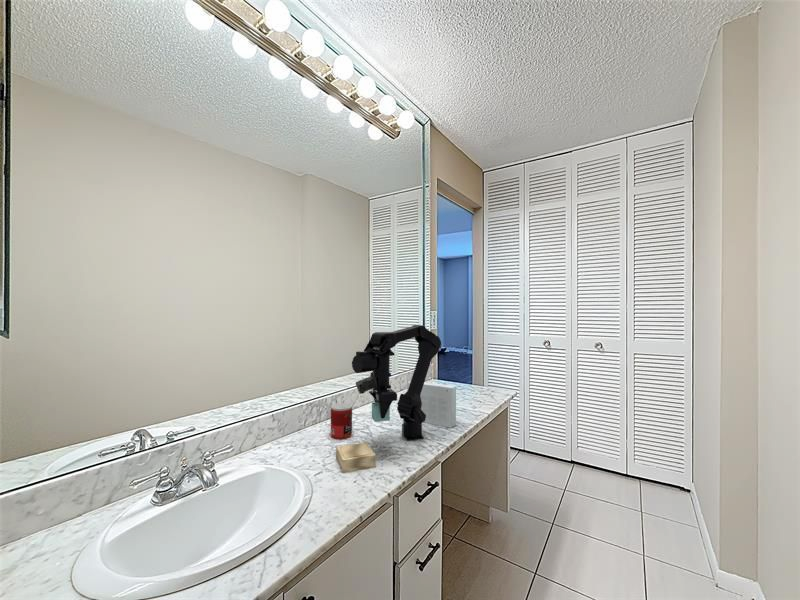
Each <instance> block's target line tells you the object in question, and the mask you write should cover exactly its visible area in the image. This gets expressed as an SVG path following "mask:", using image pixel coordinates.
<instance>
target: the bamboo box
mask: <svg viewBox="0 0 800 600" xmlns="http://www.w3.org/2000/svg"><path fill="white" fill-rule="evenodd" d="M376 456H377V455H376V453H375V451H373V449H372V447H371V446H370V445H369V444H368V442H367V441H366V442H359V443H353V444H346V445H338V446H336V447H335V459H336V461H337V464H338V465H339V468H340V470H341V472H342V474H345V473H351V472H356V471H362V470H367V469H372V468H376V466H377V465H376V464H377V457H376Z"/></svg>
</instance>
